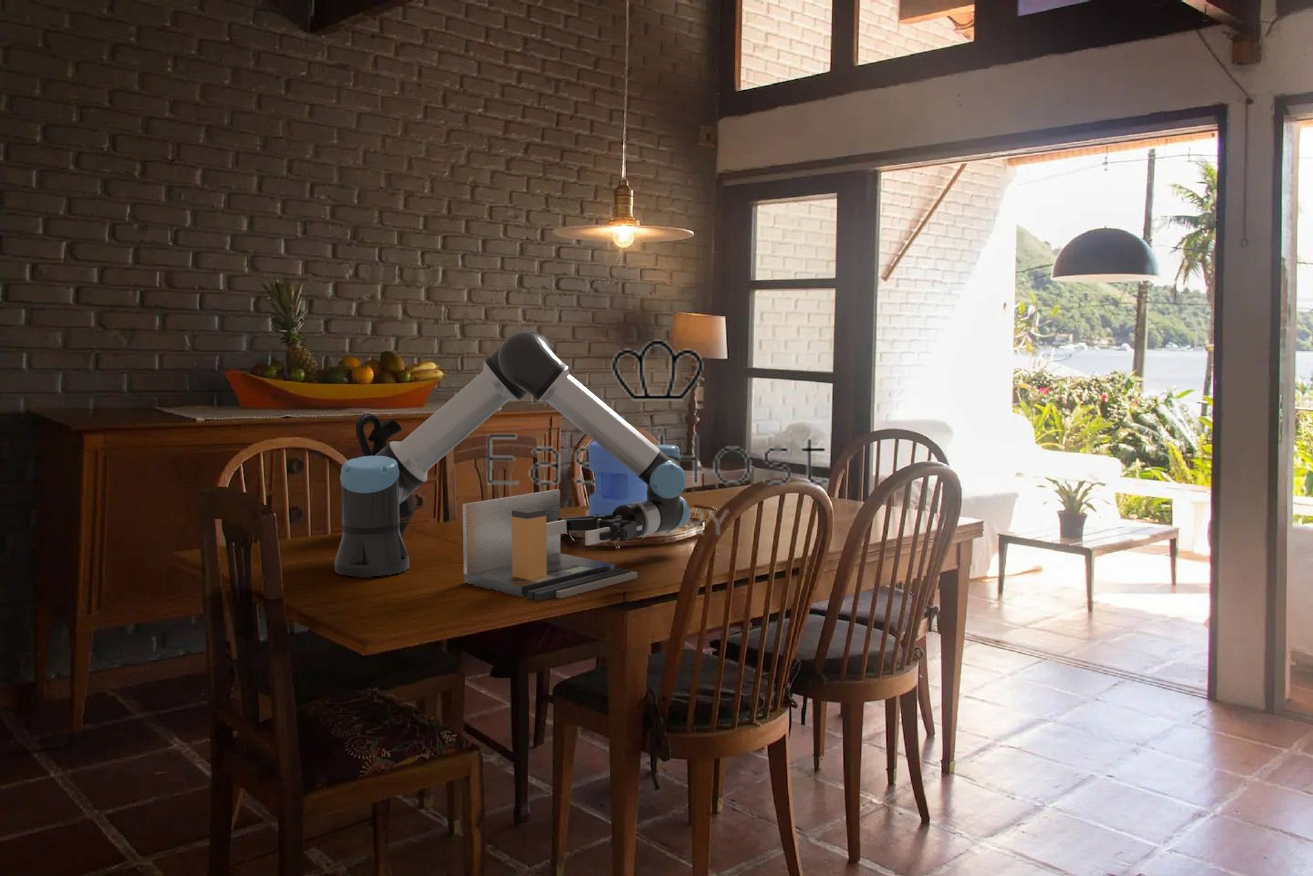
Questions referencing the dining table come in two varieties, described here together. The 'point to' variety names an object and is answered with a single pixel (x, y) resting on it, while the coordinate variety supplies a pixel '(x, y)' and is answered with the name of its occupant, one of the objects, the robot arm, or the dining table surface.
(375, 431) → the ceramic jug
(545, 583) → the l-shaped metal bracket
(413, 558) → the dining table surface
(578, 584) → the long grooved rail
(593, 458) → the water jug
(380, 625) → the dining table surface
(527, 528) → the lever
